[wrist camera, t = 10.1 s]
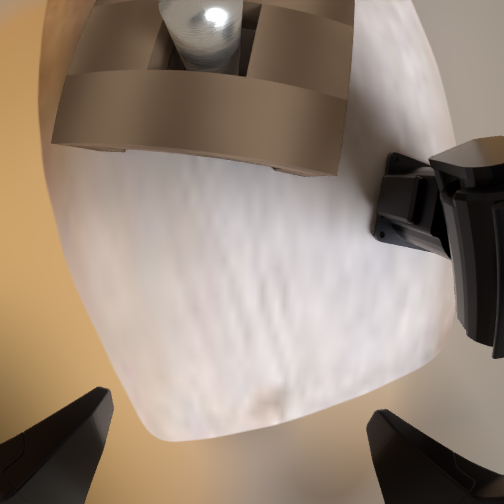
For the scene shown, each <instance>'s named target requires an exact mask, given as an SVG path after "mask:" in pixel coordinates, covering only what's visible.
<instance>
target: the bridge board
mask: <svg viewBox="0 0 504 504" xmlns="http://www.w3.org/2000/svg"><path fill="white" fill-rule="evenodd" d="M354 6H355V0H243V10H242V26H241V28H247V29H254V30H256V33H255V38H254V43H253V47H252V52H251V57H250V61H249V66H248V71H247V76H246V77H242V76H235V75H227V74H219V73H209V72H197V71H181V70H167V66H168V63H169V59H170V55H171V52H172V49H173V45H174V42H173V40H172V37H171V35H170V33H169V31H168V29H167V26H166V24H165V22H164V20H163V18H162V15H161V13H160V11H159V0H96V2H95V4H94V6H93V8H92V10H91V13H90V15H89V17H88V19H87V22H86V24H85V26H84V29H83V31H82V33H81V36H80V38H79V41H78V44H77V46H76V49H75V52H74V55H73V58H72V61H71V64H70V67H69V70H68V73H67V76H66V80H65V83H64V87H63V91H62V94H61V98H60V102H59V107H58V111H57V115H56V120H55V125H54V130H53V136H52V142H51V143H52V144H59V145H66V146H73V147H79V148H85V149H91V150H97V151H111V152H125V150H126V149H131V150H146V151H158V152H169V153H179V154H188V155H197V156H205V157H213V158H220V159H227V160H234V161H240V162H247V163H253V164H259V165H264V166H270V167H275V171H279V172H284V173H289V174H295V175H299V176H304V177H306V176H337V171H338V165H339V159H340V152H341V146H342V139H343V132H344V124H345V117H346V109H347V100H348V91H349V82H350V71H351V59H352V46H353V30H354Z"/></svg>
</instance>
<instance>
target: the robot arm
mask: <svg viewBox="0 0 504 504" xmlns="http://www.w3.org/2000/svg"><path fill="white" fill-rule="evenodd" d="M393 157H395V158H396V162H394V161H393ZM428 159H429V162H430V165H431V166H430V165H427V164H425V163H422V162H420V161H417V160H415V159H412V158H410V157H407V156H404V155H402V154H399V153H395V152H394V153H390V154H389V155H388V157H387V164H386V171H385V176H384V177H383V180H382V186H381V191H380V197H379V202H378V208H377V212H378V216H377V221H376V225H375V230H374V238H375V239H376V240H378V241H380V242H384V243H389V244H394V245H399V246H404V247H409V248H414V249H418V250H423V251H428V252H432V253H436V254H438V255H440V256H442V257H445V258H447V259H449V260H451V261H452V267H453V276H454V291H455V299H456V310H457V316H458V319H459V321H460V322H461V324H462V325H463V327H464V328H465V329H466V334H467V336H468V337H470V338H471V339H473V340H474V341H476V342H478V343H481V344H484V345H487V346H491V347H493V352H492V357H493V358H494V359H498V358H504V136H494V137H486V138H479V139H474V140H471V141H468V142H466V143H464V144H461V145H459V146H456V147H454V148H451V149H449V150H446V151H444V152H442V153H439V154H437V155H434V156H432V157H430V158H428ZM380 232H382V233H383V235H382V236H381V237H379V234H380ZM113 408H114V406H113V401H112V396H111V391H110V390H109V389H107V388H103V387H96V388H95V389H93V390H91V391H90V392H88V393H87V394H85V395H83V396H82V397H80V398H78V399H77V400H75V401H74V402H72V403H70V404H69V405H67V406H65V407H64V408H62V409H61V410H59V411H57V412H56V413H54V414H52V415H51V416H49V417H47V418H46V419H44V420H42V421H41V422H39V423H37V424H35V425H34V426H32V427H31V428H29V429H27V430H25V431H24V433H23V432H22V433H20V434H18V435H16V436H15V437H13V438H11V439H9V440H7V441H5V442H3V443H1V444H0V504H84V503H85V500H86V497H87V494H88V491H89V488H90V485H91V482H92V480H93V477H94V474H95V471H96V468H97V465H98V463H99V460H100V458H101V455H102V453H103V450H104V446H105V442H106V438H107V434H108V430H109V426H110V422H111V419H112V415H113V410H114V409H113ZM366 430H367V436H368V441H369V446H370V451H371V456H372V461H373V465H374V468H375V471H376V475H377V478H378V481H379V485H380V488H381V491H382V495H383V498H384V501H385V504H504V475H501V474H498V473H496V472H493V471H491V470H488V469H486V468H483V467H482V466H479V465H477V464H475V463H473V462H471V461H469V460H467V459H465V458H463V457H462V456H460V455H458V454H456V453H454V452H453V451H452V450H450V449H448V448H446V447H445V446H443V445H442V444H440V443H438V442H437V441H435V440H434V439H432V438H430V437H429V436H427V435H426V434H424V433H423V432H421V431H419V430H418V429H416V428H415V427H413V426H412V425H410V424H409V423H407V422H405V421H404V420H402V419H401V418H399V417H398V416H396V415H395V414H393V413H392V412H390V411H389V410H387V409H380V410H376V411H375V412H374V414H373V415H372V417H371V419H370V421H369V422H368V424H367V428H366Z"/></svg>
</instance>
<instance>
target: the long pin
mask: <svg viewBox="0 0 504 504" xmlns="http://www.w3.org/2000/svg"><path fill="white" fill-rule="evenodd" d="M242 10H243V0H159V11H160V13H161V15H162V18H163V20H164V22H165V24H166V26H167V29H168V31H169V33H170V35H171V37H172V40H173V42H174V44H175V46H176V49H177V51H178V53H179V55H180V57H181V60H182V62H183V64H184V66H185V69H186V71H197V72H209V73H219V74H227V75H235V76H239V60H240V42H241V26H242Z"/></svg>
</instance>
